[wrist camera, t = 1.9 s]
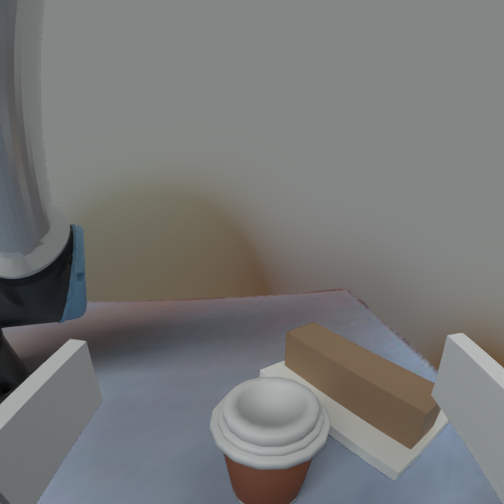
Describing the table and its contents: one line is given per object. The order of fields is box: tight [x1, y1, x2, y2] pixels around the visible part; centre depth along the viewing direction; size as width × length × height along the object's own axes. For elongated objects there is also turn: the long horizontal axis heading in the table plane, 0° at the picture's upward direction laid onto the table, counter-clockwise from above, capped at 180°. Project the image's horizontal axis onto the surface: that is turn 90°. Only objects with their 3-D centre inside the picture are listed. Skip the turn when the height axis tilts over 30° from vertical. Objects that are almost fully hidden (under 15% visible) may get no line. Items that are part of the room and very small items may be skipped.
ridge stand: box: [260, 322, 449, 481], centre depth 35 cm, size 24×12×7 cm, turn 33°
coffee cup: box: [210, 377, 331, 504], centre depth 22 cm, size 9×9×12 cm
